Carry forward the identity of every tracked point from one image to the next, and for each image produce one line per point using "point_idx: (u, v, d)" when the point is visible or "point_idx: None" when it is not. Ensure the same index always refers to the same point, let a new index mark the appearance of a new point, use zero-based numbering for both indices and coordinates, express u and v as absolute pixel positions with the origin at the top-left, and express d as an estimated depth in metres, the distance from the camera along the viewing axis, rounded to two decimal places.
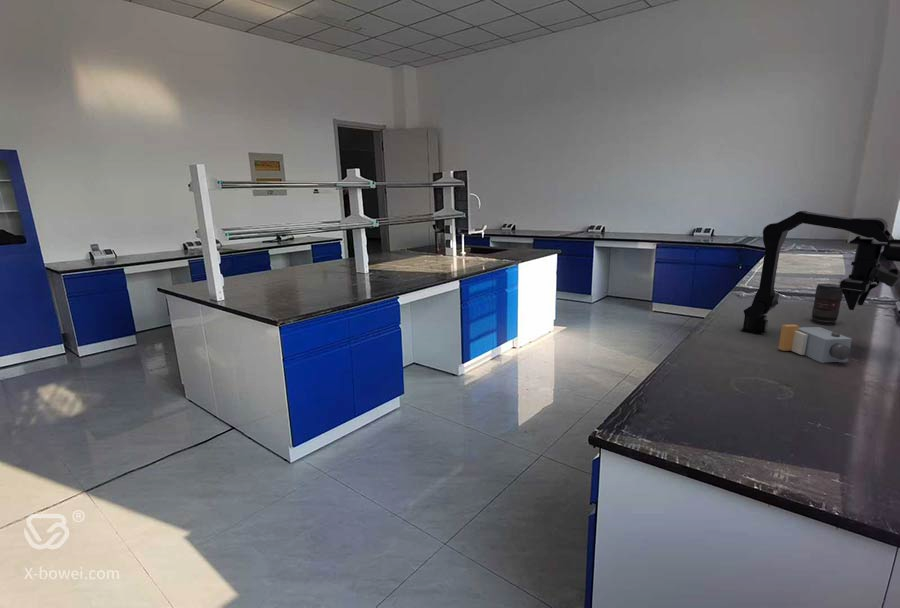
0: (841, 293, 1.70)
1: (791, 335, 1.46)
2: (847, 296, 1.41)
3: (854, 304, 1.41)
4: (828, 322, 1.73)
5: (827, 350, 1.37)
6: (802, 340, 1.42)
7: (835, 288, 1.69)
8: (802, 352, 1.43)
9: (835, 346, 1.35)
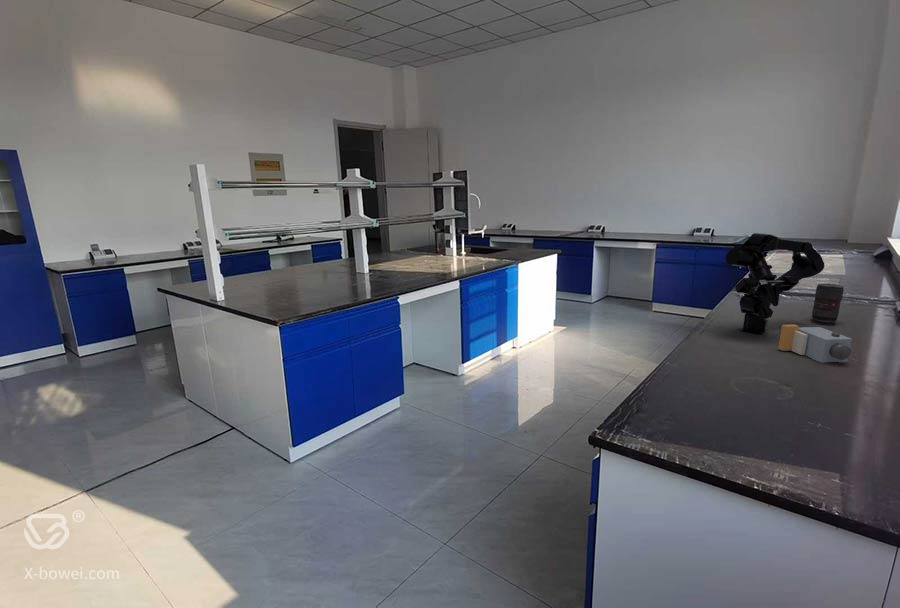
0: (841, 293, 1.70)
1: (791, 335, 1.46)
2: None
3: None
4: (828, 322, 1.73)
5: (827, 350, 1.37)
6: (802, 340, 1.42)
7: (835, 288, 1.69)
8: (802, 352, 1.43)
9: (835, 346, 1.35)
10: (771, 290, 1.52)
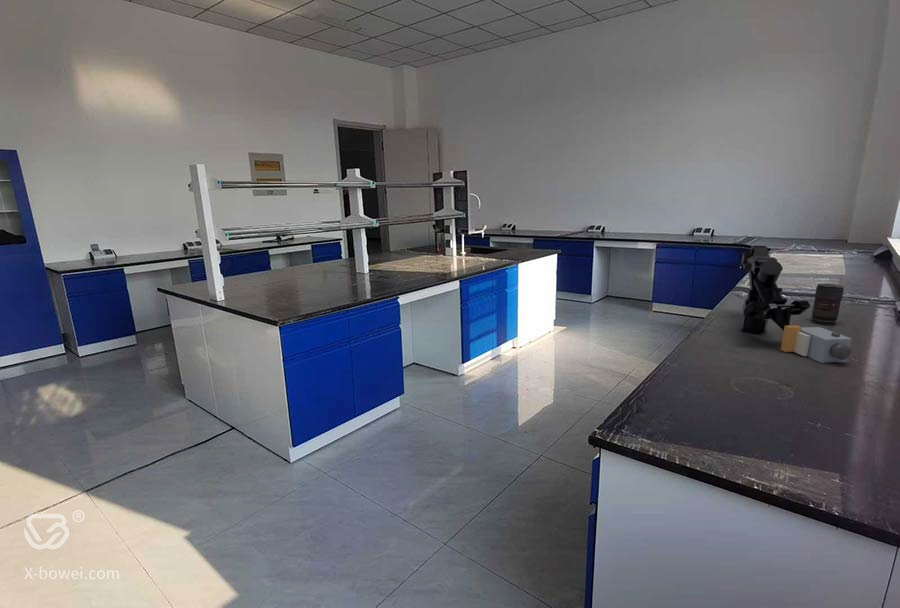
0: (841, 293, 1.70)
1: (794, 336, 1.45)
2: None
3: None
4: (828, 322, 1.73)
5: (827, 350, 1.37)
6: (805, 341, 1.41)
7: (835, 288, 1.69)
8: (805, 353, 1.42)
9: (835, 346, 1.35)
10: (781, 315, 1.47)
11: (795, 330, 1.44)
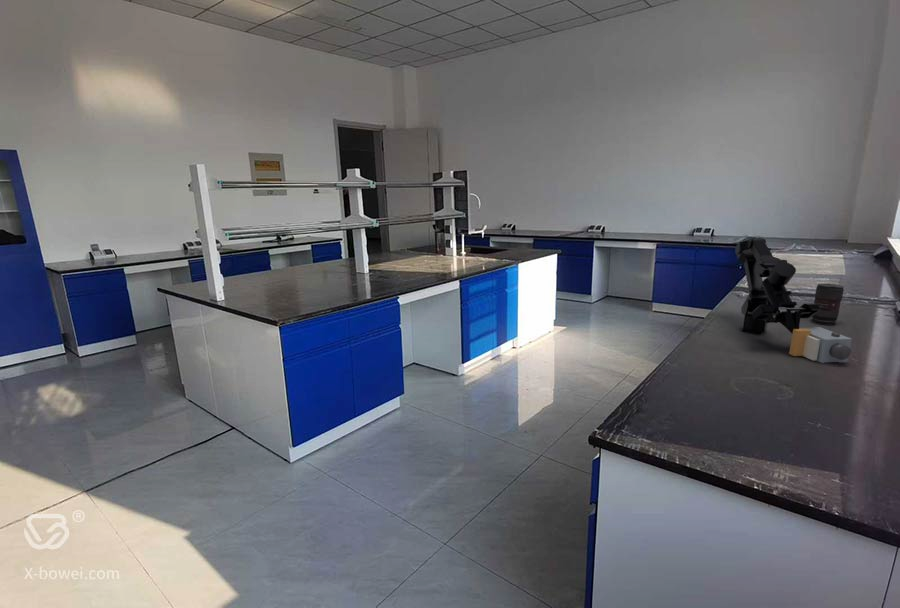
0: (841, 293, 1.70)
1: (803, 340, 1.41)
2: None
3: None
4: (828, 322, 1.73)
5: (827, 350, 1.37)
6: (814, 345, 1.38)
7: (835, 288, 1.69)
8: (814, 358, 1.38)
9: (835, 346, 1.35)
10: (791, 318, 1.44)
11: (804, 334, 1.41)
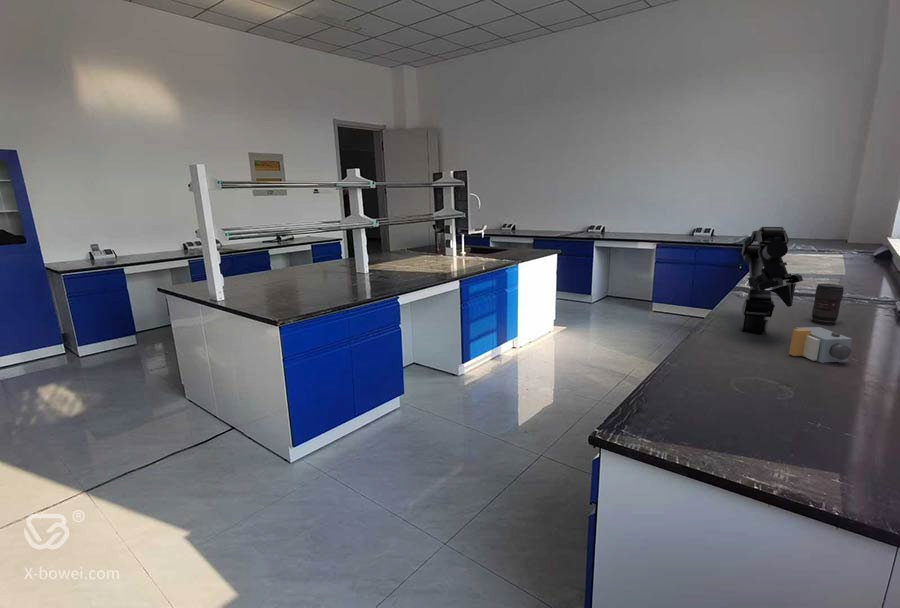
0: (841, 293, 1.70)
1: (803, 340, 1.41)
2: None
3: None
4: (828, 322, 1.73)
5: (827, 350, 1.37)
6: (814, 345, 1.38)
7: (835, 288, 1.69)
8: (814, 358, 1.38)
9: (835, 346, 1.35)
10: (790, 291, 1.50)
11: (804, 334, 1.41)
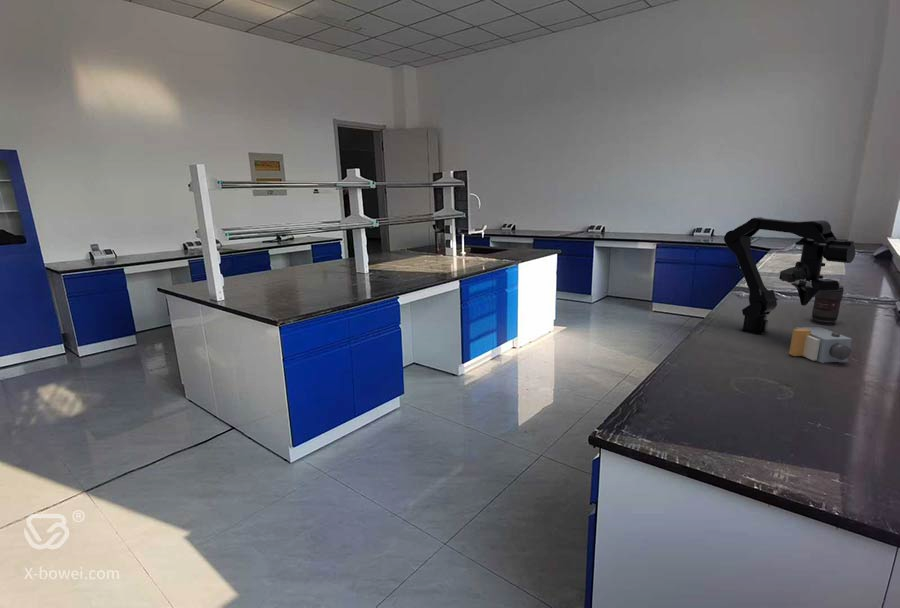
0: (841, 293, 1.70)
1: (803, 340, 1.41)
2: None
3: None
4: (828, 322, 1.73)
5: (827, 350, 1.37)
6: (814, 345, 1.38)
7: None
8: (814, 358, 1.38)
9: (835, 346, 1.35)
10: None
11: (804, 334, 1.41)
